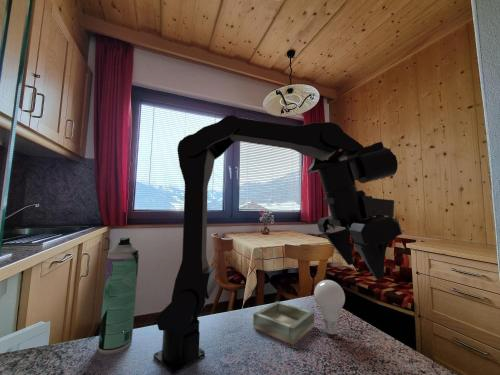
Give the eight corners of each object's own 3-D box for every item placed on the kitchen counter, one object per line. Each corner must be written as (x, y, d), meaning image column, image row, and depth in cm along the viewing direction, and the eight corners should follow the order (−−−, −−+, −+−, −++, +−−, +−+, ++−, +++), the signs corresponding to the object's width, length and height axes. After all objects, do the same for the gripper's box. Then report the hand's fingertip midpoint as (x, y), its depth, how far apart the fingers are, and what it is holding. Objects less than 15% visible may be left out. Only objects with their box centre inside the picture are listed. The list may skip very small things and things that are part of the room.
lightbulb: (328, 344, 43) (327, 286, 45) (309, 329, 49) (308, 277, 50) (353, 338, 45) (351, 283, 47) (331, 324, 51) (330, 275, 53)
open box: (253, 328, 49) (253, 313, 49) (277, 313, 57) (277, 301, 57) (293, 345, 43) (293, 328, 43) (314, 326, 50) (314, 312, 51)
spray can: (133, 336, 45) (141, 236, 48) (129, 351, 40) (138, 239, 43) (102, 340, 43) (112, 237, 46) (93, 357, 38) (105, 239, 41)
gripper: (418, 171, 33) (451, 274, 32) (353, 184, 52) (372, 249, 51) (350, 189, 32) (381, 295, 31) (308, 196, 51) (327, 263, 50)
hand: (363, 270), depth 41 cm, fingers open, 9 cm apart
